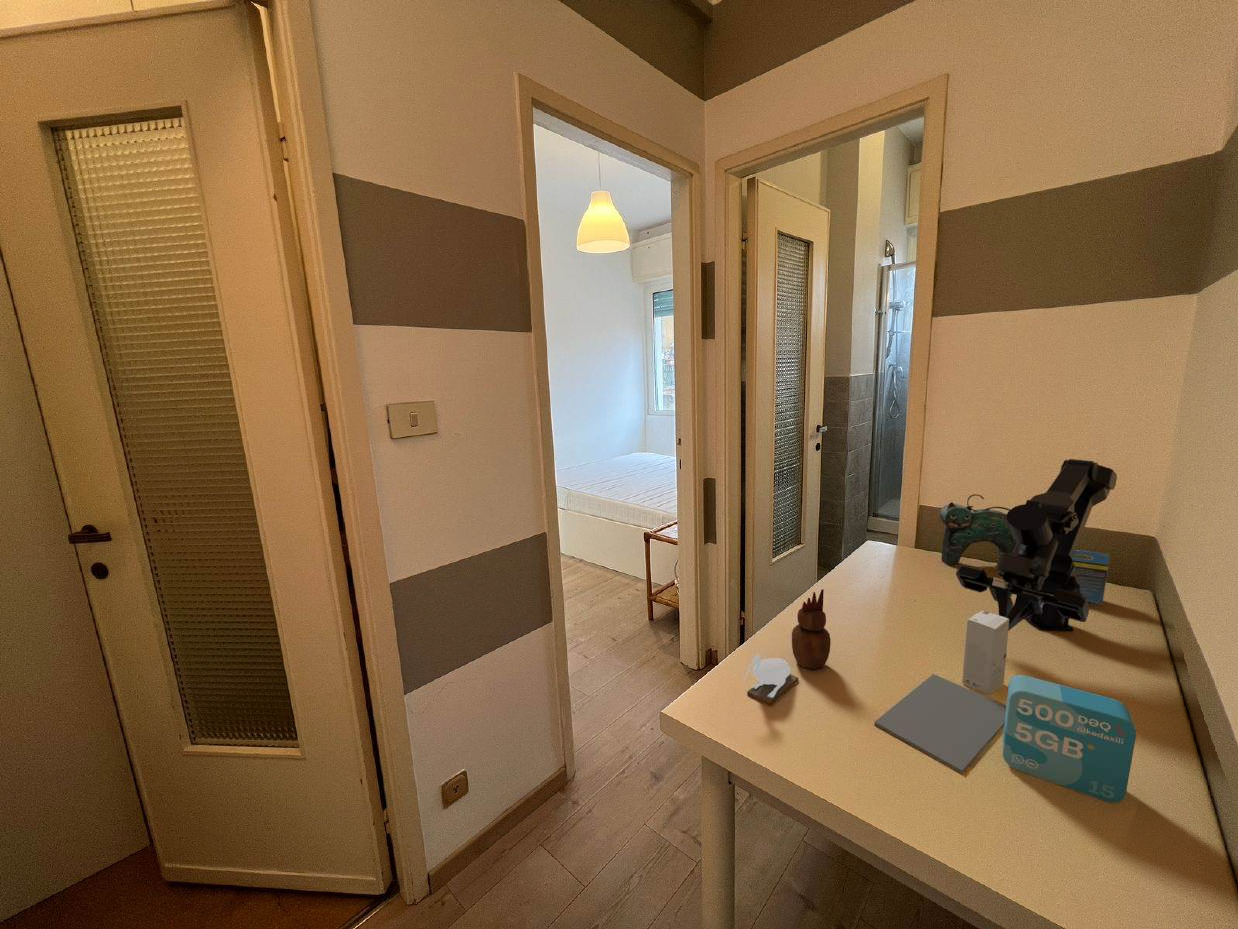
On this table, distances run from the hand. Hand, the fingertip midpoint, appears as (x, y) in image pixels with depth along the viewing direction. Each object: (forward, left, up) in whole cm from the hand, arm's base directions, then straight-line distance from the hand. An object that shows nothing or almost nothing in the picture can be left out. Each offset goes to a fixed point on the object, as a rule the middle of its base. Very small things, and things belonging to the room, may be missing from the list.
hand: (1002, 631), depth 88 cm
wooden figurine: (+33, +2, -7) cm, 34 cm away
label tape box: (-33, -31, -7) cm, 45 cm away
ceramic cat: (-22, -51, -7) cm, 56 cm away
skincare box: (+5, +5, -7) cm, 10 cm away
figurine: (+42, +12, -8) cm, 45 cm away
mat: (+16, +15, -7) cm, 23 cm away
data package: (+6, +25, -7) cm, 27 cm away
